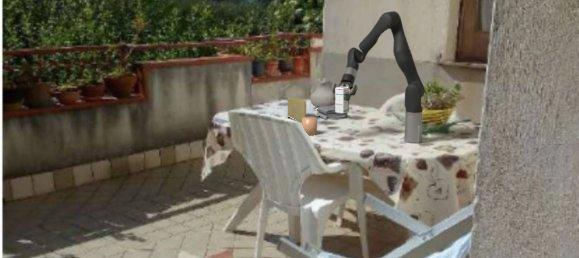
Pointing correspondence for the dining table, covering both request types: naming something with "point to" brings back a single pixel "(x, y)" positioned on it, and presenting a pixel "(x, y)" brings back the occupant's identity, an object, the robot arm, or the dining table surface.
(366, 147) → the dining table surface
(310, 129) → the peach rounded cylinder
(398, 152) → the dining table surface
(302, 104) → the cheese
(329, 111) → the towel
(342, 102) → the syrup box
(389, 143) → the dining table surface
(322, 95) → the ceramic pitcher
